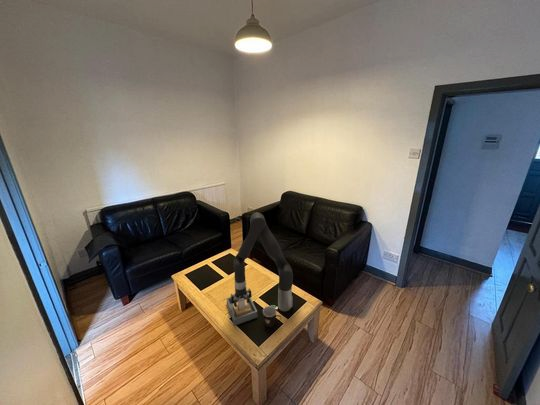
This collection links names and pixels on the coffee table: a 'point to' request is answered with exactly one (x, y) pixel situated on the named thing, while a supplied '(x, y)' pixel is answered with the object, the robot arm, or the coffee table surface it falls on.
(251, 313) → the walled box
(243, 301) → the peg
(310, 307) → the coffee table surface
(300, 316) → the coffee table surface
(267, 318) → the coffee mug
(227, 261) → the coffee table surface
